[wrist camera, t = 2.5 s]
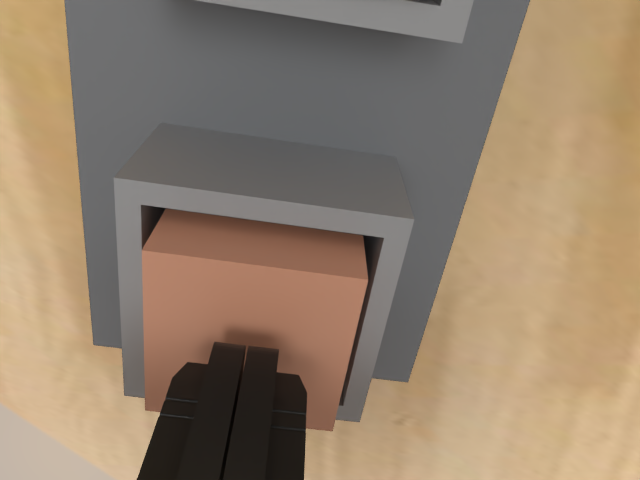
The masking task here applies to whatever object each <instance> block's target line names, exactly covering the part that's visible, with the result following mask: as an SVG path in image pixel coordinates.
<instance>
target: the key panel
mask: <svg viewBox="0 0 640 480" xmlns="http://www.w3.org/2000/svg"><path fill="white" fill-rule="evenodd" d="M529 2H530V0H65V12H66V24H67V36H68V48H69V60H70V72H71V84H72V95H73V107H74V119H75V131H76V143H77V155H78V167H79V179H80V191H81V202H82V214H83V226H84V238H85V250H86V262H87V274H88V286H89V297H90V309H91V321H92V333H93V345H98V346H106V347H115V348H122V358H123V379H124V396H132V397H141V398H145V376H144V330H143V284H142V249H143V247H144V245H145V244H146V242H147V240H148V238H149V237H150V235H151V233H152V232H153V230H154V228H155V226H156V225H157V223H158V221H159V219H160V218H161V216H162V214H163V212H164V211H165V209H173V210H180V211H188V212H195V213H202V214H210V215H217V216H224V217H232V218H239V219H246V220H254V221H261V222H268V223H276V224H283V225H290V226H298V227H305V228H312V229H320V230H327V231H334V232H342V233H349V234H356V235H363V239H364V248H365V256H366V264H367V273H368V283H367V288H366V292H365V296H364V300H363V304H362V309H361V313H360V317H359V321H358V326H357V330H356V334H355V338H354V342H353V347H352V351H351V355H350V359H349V364H348V368H347V372H346V376H345V380H344V385H343V389H342V393H341V397H340V402H339V406H338V410H337V414H336V418H335V419H336V420H344V421H353V422H360V419H361V415H362V411H363V408H364V404H365V400H366V397H367V393H368V389H369V385H370V382H371V378H376V379H384V380H393V381H401V382H408V381H409V377H410V374H411V371H412V368H413V365H414V362H415V359H416V356H417V352H418V349H419V346H420V343H421V340H422V337H423V334H424V331H425V327H426V324H427V321H428V318H429V315H430V312H431V309H432V306H433V302H434V299H435V296H436V293H437V290H438V287H439V284H440V280H441V277H442V274H443V271H444V268H445V265H446V262H447V259H448V255H449V252H450V249H451V246H452V243H453V240H454V237H455V234H456V230H457V227H458V224H459V221H460V218H461V215H462V212H463V208H464V205H465V202H466V199H467V196H468V193H469V190H470V187H471V183H472V180H473V177H474V174H475V171H476V168H477V165H478V162H479V158H480V155H481V152H482V149H483V146H484V143H485V140H486V137H487V133H488V130H489V127H490V124H491V121H492V118H493V115H494V111H495V108H496V105H497V102H498V99H499V96H500V93H501V90H502V86H503V83H504V80H505V77H506V74H507V71H508V68H509V65H510V61H511V58H512V55H513V52H514V49H515V46H516V43H517V40H518V36H519V33H520V30H521V27H522V24H523V21H524V18H525V14H526V11H527V8H528V5H529Z"/></svg>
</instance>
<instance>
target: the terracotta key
mask: <svg viewBox="0 0 640 480" xmlns="http://www.w3.org/2000/svg"><path fill="white" fill-rule="evenodd" d="M367 283H368V273H367V264H366V256H365V248H364V239H363V235H356V234H349V233H342V232H334V231H327V230H320V229H312V228H305V227H298V226H290V225H283V224H276V223H268V222H261V221H254V220H246V219H239V218H232V217H224V216H217V215H210V214H202V213H195V212H188V211H180V210H173V209H165V211H164V212H163V214H162V216H161V218H160V219H159V221H158V223H157V225H156V226H155V228H154V230H153V232H152V233H151V235H150V237H149V238H148V240H147V242H146V244H145V245H144V247H143V249H142V284H143V330H144V376H145V410H147V411H156V412H161V409H162V406H163V403H164V401H165V398H166V394H167V391H168V388H169V386H170V383H171V380H172V377H173V376H174V375H175V374H176V373H177V372H178V371H179V370H180V369H181V368H182V367H183V366H184V365H185V364H186V363H187V362H193V363H201V364H208V362H209V358H210V354H211V351H212V347H213V344H214V342H222V343H230V344H239V345H246V351H245V360H246V355H247V349H248V346H256V347H265V348H273V349H279V356H278V365H277V372H279V373H288V374H296V375H299V376H300V378H301V380H302V383H303V385H304V387H305V389H306V391H307V413H306V428H308V429H317V430H326V431H333V427H334V423H335V418H336V414H337V410H338V406H339V402H340V397H341V393H342V389H343V385H344V380H345V376H346V372H347V368H348V364H349V359H350V355H351V351H352V347H353V342H354V338H355V334H356V330H357V326H358V321H359V317H360V313H361V309H362V304H363V300H364V296H365V292H366V288H367ZM244 365H245V361H244Z"/></svg>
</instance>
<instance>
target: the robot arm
mask: <svg viewBox="0 0 640 480" xmlns="http://www.w3.org/2000/svg"><path fill="white" fill-rule="evenodd" d="M245 351H246V345H239V344H230V343H222V342H214V344H213V347H212V351H211V354H210V358H209V362H208V364H201V363H193V362H187V363H186V364H185V365H184V366H183V367H182V368H181V369H180V370H179V371H178V372H177V373H176V374H175V375H174V376H173V377H172V380H171V383H170V386H169V388H168V391H167V394H166V398H165V401H164V403H163V406H162V409H161V412H160V416H159V417H158V420H157V423H156V426H155V429H154V432H153V435H152V438H151V441H150V444H149V446H148V449H147V452H146V455H145V458H144V461H143V464H142V467H141V470H140V473H139V475H138V478H137V480H304V462H305V438H306V433H305V432H306V413H307V391H306V389H305V387H304V385H303V383H302V380H301V378H300V376H299V375H296V374H288V373H279V372H277V365H278V356H279V349H273V348H265V347H256V346H248V349H247V355H246V360H245ZM244 361H245V365H244Z"/></svg>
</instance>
